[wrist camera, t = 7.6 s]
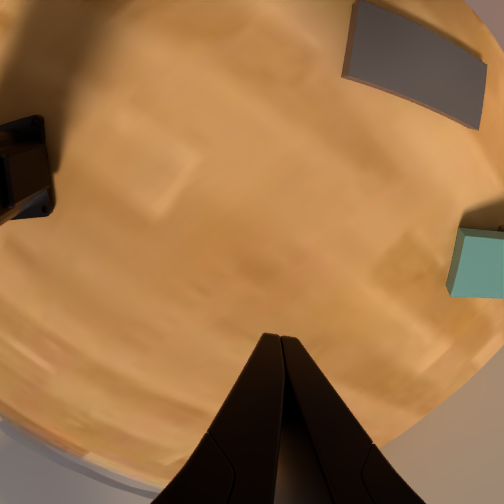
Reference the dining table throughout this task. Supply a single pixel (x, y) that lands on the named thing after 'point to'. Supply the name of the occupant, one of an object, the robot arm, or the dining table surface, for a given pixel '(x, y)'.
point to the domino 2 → (477, 264)
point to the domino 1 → (414, 64)
